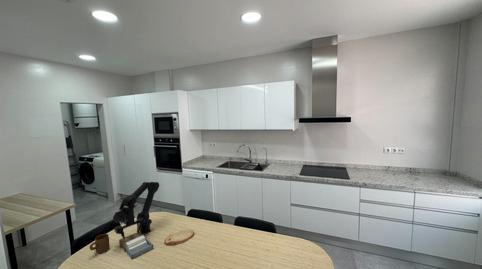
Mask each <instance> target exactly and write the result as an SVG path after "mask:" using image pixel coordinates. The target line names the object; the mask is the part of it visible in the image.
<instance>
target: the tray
mask: <svg viewBox="0 0 482 269" xmlns="http://www.w3.org/2000/svg"><path fill="white" fill-rule="evenodd" d="M145 240H146V241H147V245H145V246H143V247H141V248H138V249H136V250H134V251H132V252H131V251H130V250H129V249H128V247H125V248H126V251H125V252H126V254H127V255H128V257H129V258H130V259H131V260H134V259H136V258H139V257H140V256H142V255H144V254H146V253H148V252H150V251H152V250H154V248H155V247H154V243H152V241H151V240H150V239H148V238H145Z"/></svg>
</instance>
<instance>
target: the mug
mask: <svg viewBox="0 0 482 269" xmlns="http://www.w3.org/2000/svg"><path fill="white" fill-rule="evenodd" d="M93 246H94V247H93ZM109 249H110V237H109V234H108V233H103V234H99V235H97V236H96V237H95V239H94V241H93V242H92V243H91V244H89V250H90V251H95V252H96V254H100V255H101V254H103V253H105V252H108V251H109Z"/></svg>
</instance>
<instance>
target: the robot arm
mask: <svg viewBox="0 0 482 269" xmlns="http://www.w3.org/2000/svg"><path fill="white" fill-rule="evenodd" d="M159 188H160V183H159V182H158V181H150V182H148V181H143V182H142V183H141V184H140V186H139V187H138V188H136V189H135V191H133V193H131V194H129V195H127V196H126V197H124V198H123V199H122V201H121V204H120V206H119V208H118V211H116V212H114V215H113V217H112V220H113V221H114V223H117V224H118V223H120V225H117V226H115V227H114V228H113V231H114V232H115V234H116V235H120V236H121V238H122V239H124V240H125V237H126V236H125V231H124V229H127V228H130V227H132V226H134V225H136V233H139V232H141V233H142V234H144V235H145V234H148V233H150V232H152V229H151V224H152V222H153V221H152V219H151V218H150V209H151V206H152V204H153V203H152V202H153V200H154V196H155V194H156V193H157V192H158V191H159ZM146 190H147V192H148V193H147V195H146V197H145V201H144V204H143V206H142V209H141V212H138V213H137V216H136V219H135V211H134V210H135V208H136V207H137V205H136V203H137V200H138V198H139V197H140V196H141V195H142V194H144V192H146ZM121 224H124V225H121Z"/></svg>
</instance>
